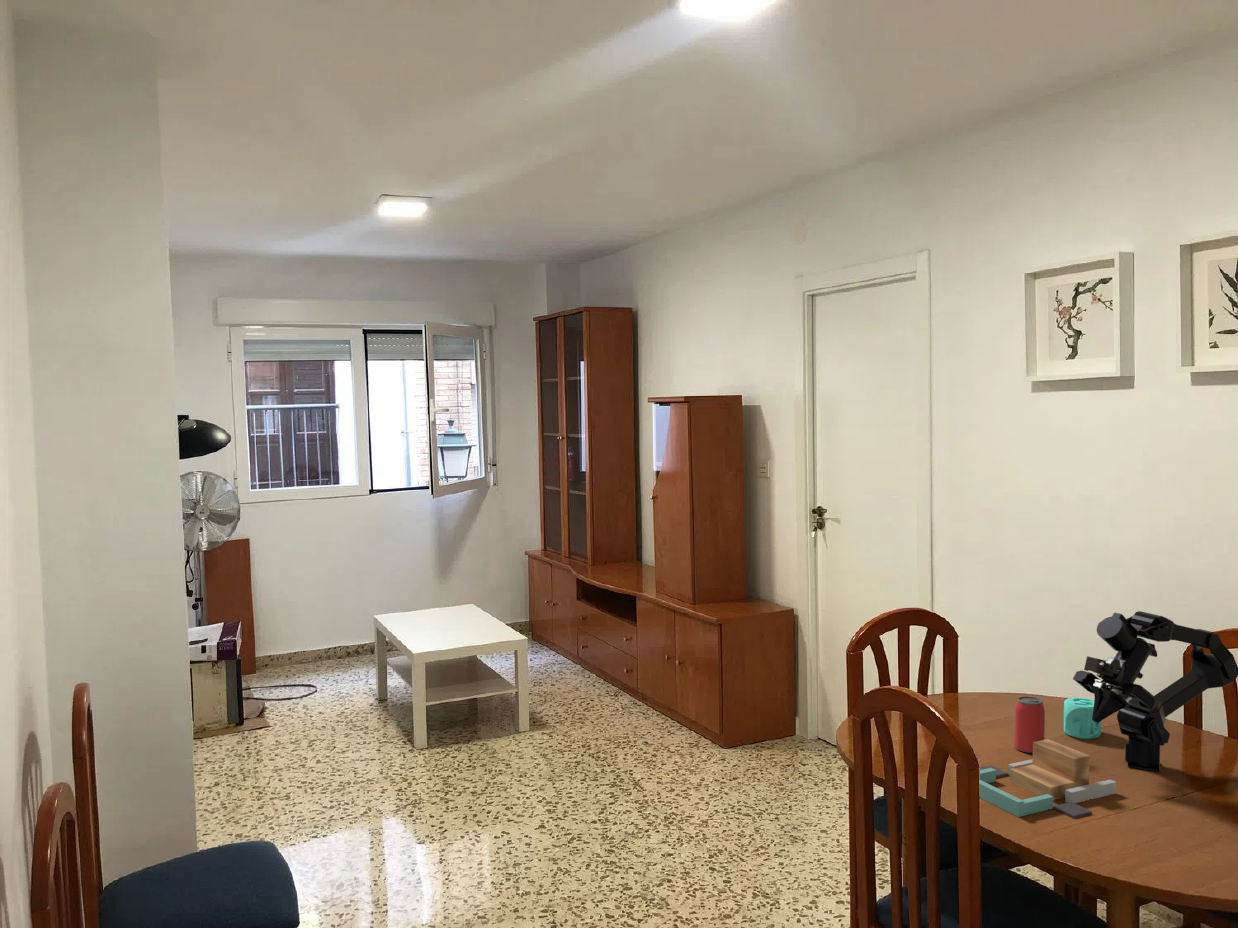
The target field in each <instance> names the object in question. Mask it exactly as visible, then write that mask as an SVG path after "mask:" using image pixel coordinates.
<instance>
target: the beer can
mask: <svg viewBox="0 0 1238 928" xmlns="http://www.w3.org/2000/svg"><path fill="white" fill-rule="evenodd" d="M1043 702H1044V701H1043V700H1042V699H1041V698H1038V697H1034V696H1028V695H1027V696H1019V697H1018V698H1017V701H1016V703H1015V706H1014V738H1013V739H1014V741H1013V745H1014V747H1015V749H1016V750H1018V751H1019V752H1023V753H1027V754H1033V742H1036V741H1041V740H1045V728H1046V727H1045V725H1046V719H1045V718H1046V711H1045V710H1046V708H1045V706H1044V704H1043Z"/></svg>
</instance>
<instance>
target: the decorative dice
mask: <svg viewBox="0 0 1238 928" xmlns="http://www.w3.org/2000/svg"><path fill="white" fill-rule="evenodd" d="M1093 709H1094V699H1091V698H1085V697H1069V698H1066V699H1065V700H1064V702H1063V732H1064V733H1065V734H1066V735H1068V736H1070V737H1073V738H1076V739H1081V740H1082V739H1083V740H1093V739H1094V740H1095V739H1097V738H1099V737H1100V736H1101V733H1102V721H1100V722H1098V723H1096V722H1094V721H1093V720H1092V716H1093Z"/></svg>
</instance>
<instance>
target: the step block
mask: <svg viewBox="0 0 1238 928" xmlns="http://www.w3.org/2000/svg"><path fill="white" fill-rule="evenodd" d="M1090 756H1091V755H1089V754H1086V753H1084V752H1081V751H1078V750H1076V749H1073V748H1071V747H1069V746H1066V745H1064V744H1061V743H1058V742H1056V741H1054V740H1051V739H1049V738H1047V739H1044V740H1041V741H1036V742H1033V753H1032V759H1033V761H1032V765H1027V766H1022V767H1018V768H1013V769H1010V776H1009V783H1011V784H1013V785H1015V786H1017V785H1018V786H1017V787H1019V786H1020V787H1019V788H1021V789H1023V788H1024V790H1025V791H1028V790H1029V791H1028V792H1030V791H1031V792H1030V793H1032V792H1033V793H1032V794H1034V795H1036V794H1038V795H1040V796H1041V795H1045V794H1049V795H1051V796H1053V801H1056V800H1055V799H1058V800H1062V799H1065V790H1067V789H1071V788H1076V787H1080V786H1084V785H1089V784H1090V759H1091V758H1090ZM1038 795H1037V796H1038Z"/></svg>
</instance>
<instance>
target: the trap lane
mask: <svg viewBox="0 0 1238 928" xmlns="http://www.w3.org/2000/svg"><path fill="white" fill-rule="evenodd" d="M1032 761H1033V758H1031V759H1027V760H1022V761H1018V762H1013V763H1009V764H1008V765H1007V768H1008V769H1007V771H1005V770H1002V769H1000V768H998V767H996V766H994V765H991V764H990V765H986V766H980V767H979V768H980V780H979V784H980V799H982V800H984V801H986V802H988V803H990V804H991V805H993V806H994V807H997V808H999V809H1002V810H1003V811H1005V812H1008V814H1012V815H1014V816H1015V817H1017V818H1020V817H1024V816H1029V815H1032V814H1037V813H1042V812H1044V811H1049V810H1048V809H1050V810H1052V809H1053V810H1054V811H1057V812H1060V813H1062V814H1063V813H1064V815H1065V814H1066V816H1068V817H1070V818H1072V819H1076V818H1080V817H1084V816H1088V815H1092V813H1093V812H1092V810H1090V809H1087V808H1085V807H1083V806H1082V805H1080V804H1078V803H1082V802H1086V800H1087V801H1091V800H1096V799H1100V798H1103V797H1107V796H1112V795H1115V794H1117V781H1115V780H1112V779H1107V780H1102V781H1098V782H1094V783H1089V785H1084V786H1080V787H1076V788H1071V789H1067V790H1065V798H1064V799H1065V801H1064V802H1065V803H1061V804H1058V805H1054V800H1053V796H1051V795H1049V794H1045V795H1041V796H1038V795H1036V796H1033V797H1029V798H1025V799H1024V798H1023V799H1020V798H1018V797H1017V796H1015V795H1012V794H1010V793H1008V792H1007V791H1004V790H1001V789H999V788H998V787H996V786H994V785H992V784H990V783H994V782H997V778H1001V777H1007V776H1008V777H1010V769H1013V768H1018V767H1022V766H1027V765H1032ZM1090 799H1091V800H1090Z"/></svg>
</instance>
